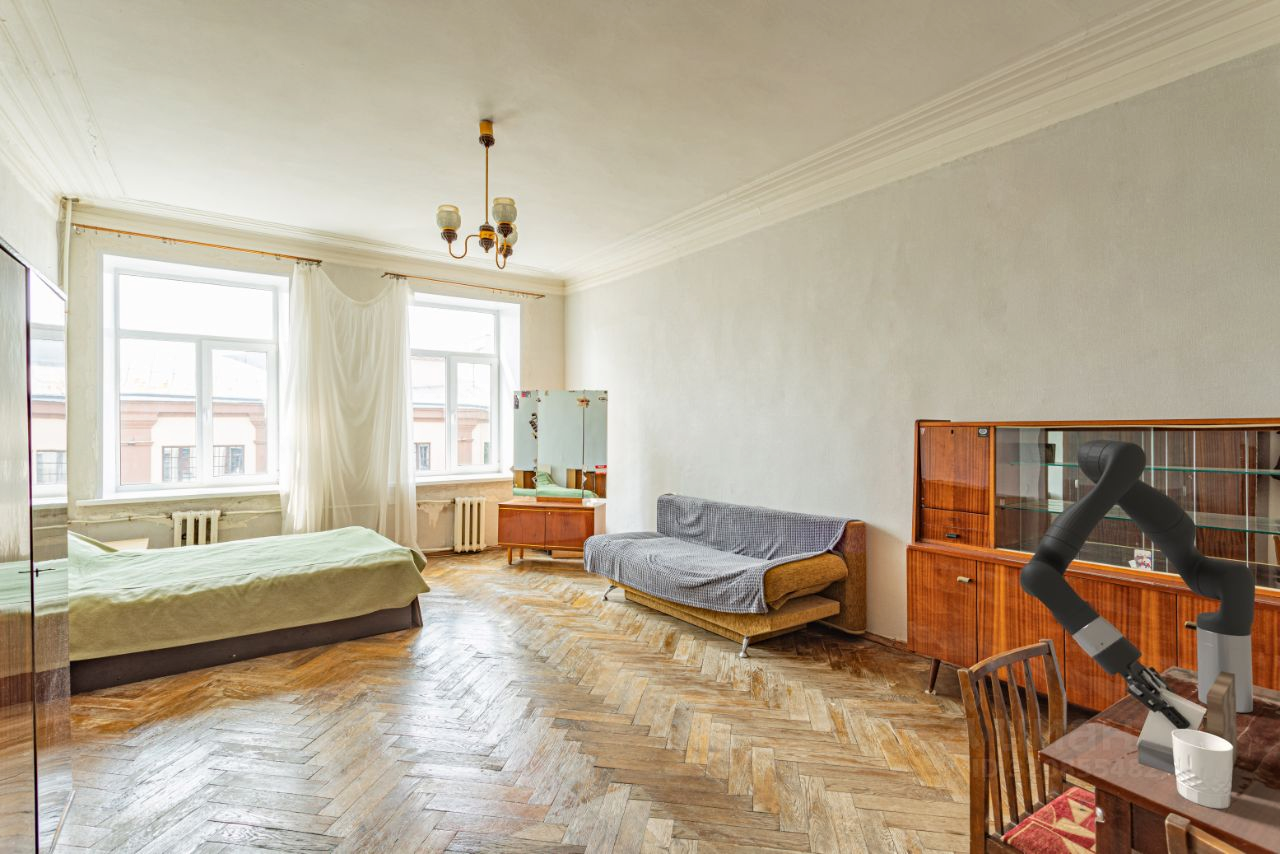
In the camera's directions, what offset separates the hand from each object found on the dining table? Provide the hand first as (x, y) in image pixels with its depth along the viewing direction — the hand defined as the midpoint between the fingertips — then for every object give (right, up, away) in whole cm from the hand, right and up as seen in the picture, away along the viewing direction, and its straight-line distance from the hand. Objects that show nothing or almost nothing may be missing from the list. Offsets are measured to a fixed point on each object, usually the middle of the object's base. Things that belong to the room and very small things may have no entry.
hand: (1187, 724), depth 116 cm
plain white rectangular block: (-3, -7, +3) cm, 8 cm away
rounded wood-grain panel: (+2, -8, +3) cm, 9 cm away
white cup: (-6, -8, -10) cm, 14 cm away
